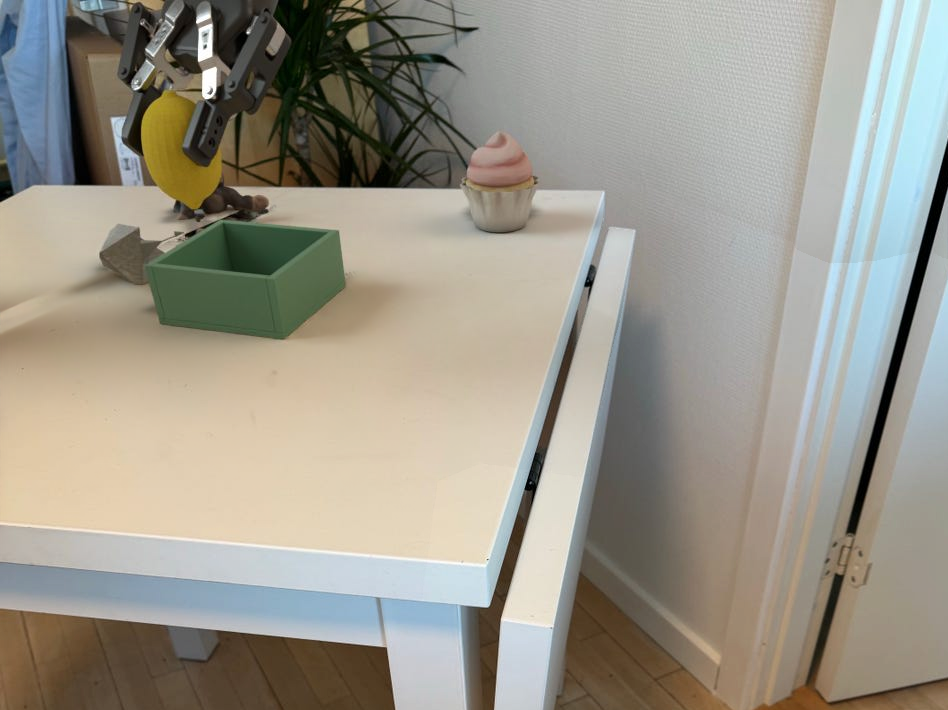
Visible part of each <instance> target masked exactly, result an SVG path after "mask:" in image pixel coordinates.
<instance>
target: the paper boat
mask: <svg viewBox="0 0 948 710" xmlns="http://www.w3.org/2000/svg"><path fill="white" fill-rule="evenodd" d="M173 234H174V235H172V236H170V237H168V238H165V239H163V240H154V239H153V240H150V239H149V240H147V239H146V240H145V239H143V238H142V237H141V229H140V227H139V226H135V225H128V224H123V223H117V224H115V226H113V227H112V228H111V229H110V230H109V232H108V234H107V236H106V238H105V240H104V242H103V245H102V247H101V249H100V251H99V253H98V256H99V259H100V262H101V264H102V265H103V267H105V268H107V269H109V270H110V271H111V272H113V273H115V274H117V275H118V276H120V277H121V278H123V279H125V280H126V281H128V282H129V283H131V284H132V285H135V286H136V285H145V284H146V283H149V281H148V277H147V273H146V270H145V265H146V264H148V263H149V262H151V261H153V260H154V259H156V258H158V257H159V256H161V255H163V254H164V253H165V252H164V251H163V250H161V249H159V248H158V247H159V246H160V245H161V244H162V243H164V242H166V241H168V240H170V239H173V238H177V237H179V236H181V235H184V234H185V231H177V230H176V231H175V230H174V231H173Z"/></svg>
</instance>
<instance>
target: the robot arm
mask: <svg viewBox="0 0 948 710" xmlns="http://www.w3.org/2000/svg"><path fill="white" fill-rule="evenodd" d="M278 3H279V0H164V2H163V4H162V7H161V8H158V9H152V10H149V9H148V8H147V6H145V5H144V4H143V3H142V2H141V1H137V2H135V3H134V4H132V5H131V8H130V10H129V15H128V20H127V24H126V30H125V34H124V39H123V43H122V49H121V54H120V58H119V63H118V67H117V72H116V77H117V78H118V79H119V80H120V81H121V82H122V83H123V84H124V85H126V87H128V88H129V89H130V90H131V91H132V99H131V102H130V105H129V107H128V110H127V113H126V117H125V119H124V122H123V125H122V127H121V137H120V138H121V142H122V144H123V145H124V146H125V147H127V148H128V149H129V150H130V151H131V152H133V153H134V154H135V155H137V156H138V157H143V158H144V154H143V149H142V140H141V125H142V120H143V116H144V114H145V112H146V110H147V109H148V107H149V106H150V105H151V104H152V103H153V102H154V101H155V100H156V99H158V98H160V97H161V96H162V94H163V92H164V91H166V90H173V91H174V92H175V93H176V94H177V91H178V90H186V89H187V88H188V87H189V85H190V84H191V82H192V81H193V80H194V78H195V77H196V75H199V74H202V82H201V84H202V85H201V86H202V88H201V91H202V92H201V94H202V97H203V99H204V100H199V99H198V100H197V102H196V103H195V104H196V107H195V110H194V113H193V116H192V119H191V122H190V124H189V127H188V130H187V133H186V136H185V139H184V142H183V145H182V150H183V153H184V154H185V155H186V156H187V157H188V158H189V159H190V160H191V161H193V162H194V163H195V164H196V165H197V166H201V167H208V166H209V165H210V163H211V160H213V158H214V157H215V155H216V154H217V151H218V148H219V146H220V145H221V143H222V139H223V137H224V134H225V131H226V129H227V127H228V126H227V125H228V123H229V122H231V121H233V120H235V118H236V117H237V115H238V114H239V113H242V112H245V113H246V115H248V116H253V115H255V114H256V113H257V112H258V111H259V109H260V107H261V105H262V103H263V101H264V99H265V97H266V95H267V93H268V92H269V89H270V87H271V86H272V84H273V81H274V80H275V78H276V76H277V74H278V72H279V70H280V68H281V66H282V64H283V62H284V59H285V58H286V56H287V54H288V52H289V51H290V48H291V45H292V39H291V37H290V36H289V34H288V33H286V31H285V29H284V28H283V27H282V26H281V24H280V23H279V22H278V20H276V19H275V17H274V14H275V12H276V8H277V5H278ZM167 51H168V53H169V55H170V56H171V57H172V58H173V59H174V60H175V61H176V62H177V63H178V64H179V67H174V66H173V65H172V64H171V63H170V62H169V61H168V60H167V58H166V52H167ZM137 63H138V64H139V65H140V68H139V69H138V70H136V68H137ZM160 72H162V73H163V74H164V78H163V80H162V82H161V83H160V84H159V86H158V87H156V86H155V85H156V80H157V75H158V74H159V73H160ZM251 73H252V74H253V76H254V77H253V80H252V82H251V83H250V86H249V88H247V87H246V82H247V80H248V79H249V77H250V75H251Z"/></svg>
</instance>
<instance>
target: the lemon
mask: <svg viewBox="0 0 948 710" xmlns="http://www.w3.org/2000/svg"><path fill="white" fill-rule="evenodd" d="M196 104H197V103H195V102H194V101H193V100H191V99H189V98H188V97H185V96H183V95H179V94H178V93H177V92H176V93H175V92H174V91H173V90H166V91H164V92H163V94H162V96H161V97H160V98H158V99H156V100H155V101H154V102H153V103H152V104H151V105H150V106H149V107H148V109H147V110H146V112H145V114H144V116H143V120H142V125H141V140H142V149H143V154H144V157H143V158H144V161H145V165H146V168H147V170H148V172H149V175H150V177H151V179H152V180H153V182H154V184H155V185H156V186H157V187H158V188H159V190H161V191H162V192H163V193H164V194H165V195H167V196H168V197H169V198H171V199H173V200H175V201H176V200H178V201H181V202H183V203H184V204H186V205H187V206H188V207H189V208H191V209H197V210H199V209H198V208H199V207H200V206H201V204H202V202H203V200H204V199H205V198H207V197H208V196H210V195H211V194H212V193H213V192H214V190H215V189H216V187H217V186H218V184H219V181H220V178H221V172H222V173H223V170H222V168H223V161H222V159H223V158H222V151H221V146H220V145H219V148H218V151H217V154H216V155H215V157H214V158H213V160H211V163H210V165H209V166H208V167H201V166H197V165H196V164H195V163H194V162H193V161H191V160H190V159H189V158H188V157H187V156H186V155H185V154H184V153H183V150H182V145H183V142H184V139H185V136H186V133H187V130H188V127H189V124H190V122H191V119H192V116H193V113H194V110H195V107H196Z"/></svg>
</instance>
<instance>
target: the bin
mask: <svg viewBox="0 0 948 710" xmlns="http://www.w3.org/2000/svg"><path fill="white" fill-rule="evenodd" d="M218 220H219V219H218ZM216 221H217V220H216ZM342 251H343V250H342V242H341V236H340V230H339V229H329V228H317V227H306V226H296V225H285V224H273V223H263V222H251V221H246V222H242V221H230V220H219V221H217V222H216V223H214V224H212V225H211V226H209V227H207V228H206V229H204V230H202V231H201V232H199V233H197V234H196V235H194V236H192V237H191V238H187V239H186V240H184V241H183V242H181V243H179V244H178V245H176V246H174V247H172V248H171V249H169V250H167V251H165V252H164V254H163V255H161V256H159V257H158V258H156V259H154V260H153V261H151V262H149V263H148V264H146V265H145V270H146V273H147V277H148V285H149V288H150V291H151V292H150V293H151V295H152V299H153V303H154V306H155V310H156V315H157V317H158V321H159V324H160V325H167V326H173V327H174V326H175V327H184V328H190V329H199V330H209V331H214V332H215V331H216V332H221V333H222V332H224V333H230V334H239V335H247V336H254V337H262V338H270V339H276V340H277V339H278V340H286V338H289V336H290V335H291V334H292V333H294V332H295V331H296V330H297V329H298V328H299V327H301V326H302V325H303V324H304V323H305V322H307V320H308V319H310V318H311V317H312V316H313V315H314V314H315V313H317V312H318V311H319V310H320V309H322V307H324V306H325V305H326V304H327V303H328V302H330V301H331V300H332V299H333V298H334V297H335V296H337V295H338V294H339V293H340V292H341V291H343V289H345V288H346V286H347V283H346V275H345V267H344V260H343V252H342Z"/></svg>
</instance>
